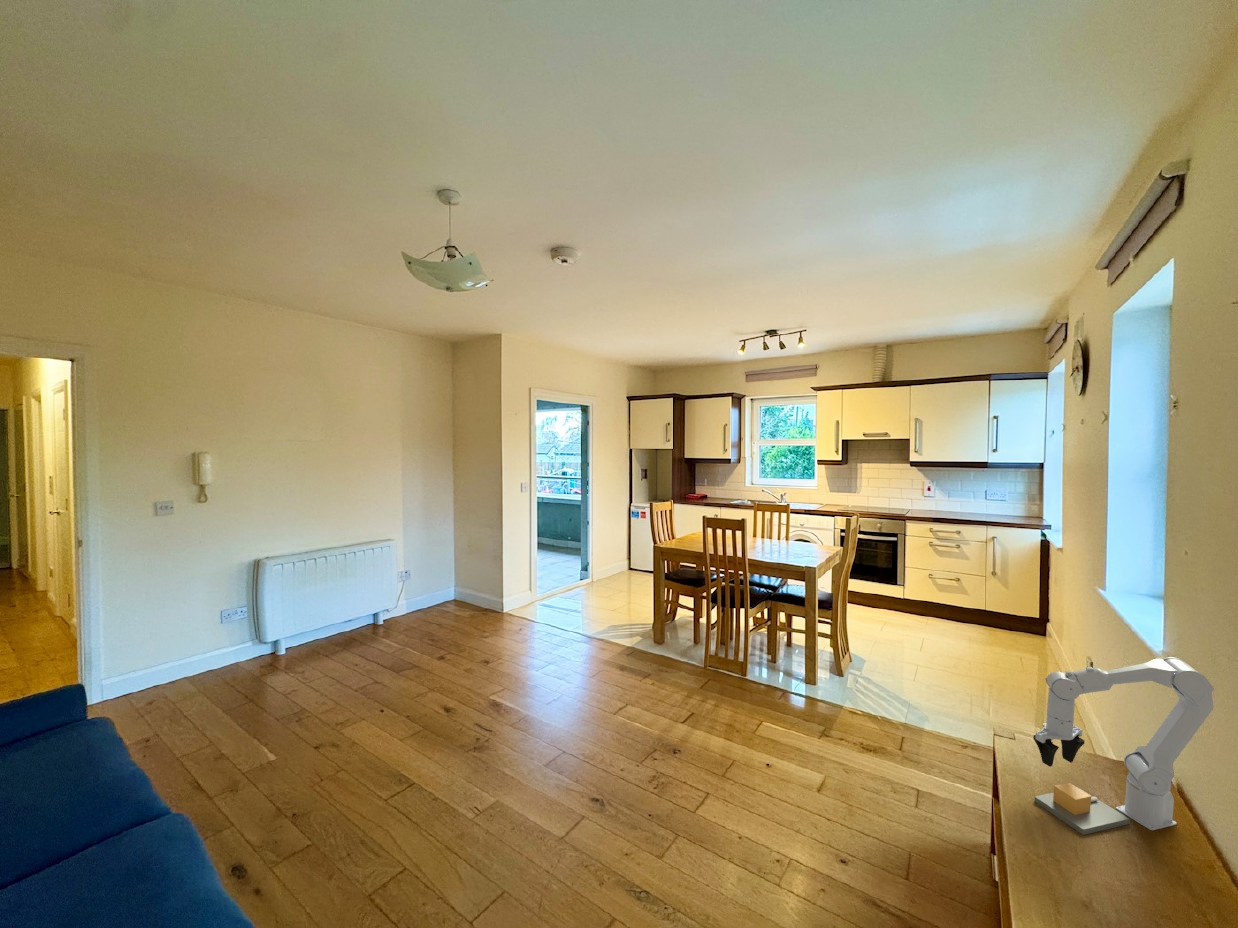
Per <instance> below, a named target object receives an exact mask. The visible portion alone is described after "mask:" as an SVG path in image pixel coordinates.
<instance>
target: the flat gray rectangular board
mask: <svg viewBox="0 0 1238 928" xmlns="http://www.w3.org/2000/svg"><path fill="white" fill-rule="evenodd" d="M1078 788H1079V789H1080V790H1082V791H1083V792H1085V793H1087V794H1088V795H1090V796H1091V807H1090V812H1086V813H1082V814H1078V815H1074V814H1073V813H1071V812H1070V811H1068V810H1067V809H1065V808H1064V807H1062V806H1061V805H1059V804H1058V803H1056V802H1054V801H1053V795H1054V792H1050V793H1045V794H1041V795H1036V796H1034V803H1036V804H1037V805H1039V806H1040V807H1042V808H1043V809H1045V810H1046V811H1048V812H1049V813H1051V815H1053V816H1055V817H1056V818H1058V819H1059V820H1060V821H1062V822H1063V823H1065V824H1066V825H1067V826H1069V827H1070V828H1072V829H1074V830H1075V831H1076V832H1078V833H1080V834H1081V835H1082V836H1084V835H1089V834H1093V833H1097V832H1101V831H1106V830H1109V829H1114V828H1119V827H1123V826H1127V825H1129V824H1130V817H1128V816H1127V815H1125V814H1123V813H1122V812H1120V811H1118V810H1117V809H1114V808H1112V807H1111V806H1110V805H1107V804H1106V803H1105V802H1103V801H1101V800H1100V799H1098V797H1097V796H1093V795H1091V794H1090V793H1088V792H1086V790H1085V791H1084V790H1083V789H1081V788H1080V787H1078Z"/></svg>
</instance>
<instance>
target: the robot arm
mask: <svg viewBox="0 0 1238 928" xmlns="http://www.w3.org/2000/svg"><path fill="white" fill-rule="evenodd" d="M1045 682H1046V684H1047V686H1048V687H1049V688H1048V696H1047V702H1046V703H1047V704H1046V706H1047V708H1046V722H1045V723H1042V727H1043V728H1042V729H1040V730H1039V731H1037V732H1035V734H1034V735H1033V738H1032V739H1033V740H1034V742H1035V744H1036V745H1037V747H1038V748H1037V749H1038V750H1039V754H1040V757H1041V761H1042V763H1043V764H1045V765H1047V767H1050V768H1051V767H1052V766H1053V764H1054V759H1055V755H1056V753H1057V752H1058V751H1057V750H1058V749H1060V747H1059V746H1058V745H1056V744H1054V743H1053V741H1052V740H1060V743H1061V754H1062V755H1061V757H1062V759H1063V760H1065V761H1067V762H1068V763H1071V764H1072V763H1073V762H1074V760H1075V758H1076V755H1077V753H1078V752H1079V750H1080V748H1081V747H1082V746H1084V745H1085V743H1086V742H1085V739H1083V738H1081V737H1083V729H1081V728H1080V727H1078V726H1077V725H1074V721H1075V707H1076V706H1075V700H1076V699H1077V698H1078V697H1079V696H1080V695H1084V694H1091V693H1097V692H1106V691H1110V690H1111V688H1112V687H1113V686H1114V685H1121V684H1132V683H1133V684H1134V683H1142V682H1143V683H1144V682H1154V683H1157V684H1159V685H1161V686H1165V687H1167V688H1170V689H1174V692H1175V693H1176V695H1177V696H1178V699H1179V700H1178V701H1177V702H1176V703H1175V705H1174V706H1173V708H1172V709H1171V711H1170V712H1169V714H1168V715H1167V716H1166V718H1165V720H1163V722H1162V723H1161V725H1160V726H1159V727H1158V728H1157V730H1156V731H1155V733H1154V734H1153V736H1152V737H1151V738H1150V740H1149V741H1148V743H1147V744H1146V745H1140V746H1137V747H1136V748H1135V750H1134V751H1130V752H1128V753H1127V754H1125V756H1124V759H1123V763H1124V766H1125V767H1126V769H1127V770H1128V774H1127V775H1126V784H1125V785H1126V787H1125V797H1124V798H1125V799H1124V800H1125V801H1124V805H1123V804H1122V805H1120V806H1116V807H1115V810H1116V811H1118V812H1119V813H1121V814H1122V815H1124V816H1126V817H1127V818H1129V819H1132V820H1133V821H1135V822H1136V823H1138V824H1140V825H1141V826H1143V827H1145V828H1147V829H1148V830H1149V831H1155V830H1160V829H1164V828H1168V827H1173V826H1176V825H1177V822H1176V821H1175V820H1173V817H1174V816H1173V815H1174V804H1175V799H1174V796H1173V794H1172V792H1171V789H1172V780H1173V779H1174V777H1175V769H1174V763H1175V761H1176V760H1177V759H1178V758H1179V756H1180V755H1181V753H1182V752H1183V751H1184V749H1185V748H1186V747H1187V745H1188V744H1189V743H1190V741H1191V740H1192V739H1193V737H1194V736H1195V734H1196V733H1197V732H1198V730H1199V729H1200V727H1201V726H1202V725H1203V724H1204V722H1205V721H1206V720H1207V718H1208V717H1209V716H1210V715H1211V713H1212V711H1214V700H1213V691H1214V689H1215V688H1214V686H1213V685H1212V684H1211V682H1210V681H1209V679H1208V677H1206V676H1205V675H1204V674H1203V673H1201V672H1199V671H1197V670H1196V669H1195V668H1194V667H1192V666H1191V665H1189V664H1188V663H1187V662H1186V661H1185V660H1184V659H1182V658H1178V657H1175V656H1174V657H1173V656H1169V657H1164V658H1154V659H1152V660H1149V661H1147V662H1143V663H1139V664H1134V665H1129V666H1125V667H1123V666H1122V667H1120V668H1115V669H1110V670H1104V669H1101V668H1099V667H1094V668H1093V667H1092V666H1086V667H1085V669H1082V670H1081V669H1080V670H1073V671H1070V670H1066V671H1065V672H1061V671H1052V672H1050V674H1048V675H1047V677H1045Z"/></svg>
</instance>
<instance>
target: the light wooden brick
mask: <svg viewBox="0 0 1238 928" xmlns="http://www.w3.org/2000/svg"><path fill="white" fill-rule="evenodd" d="M1079 788H1080V787H1077V786H1076V785H1073V784H1072V783H1070V782H1065V783H1061V784H1057V785H1056V784H1055V785H1053V793H1054V795H1053V801H1054V802H1056V803H1058V804H1059V805H1061V806H1062V807H1064V808H1065V809H1067V810H1068V811H1070V812H1071V813H1073V814H1074V815H1078V814H1082V813H1086V812H1090V807H1091V796H1092V795H1091V794H1090V795H1091V796H1090V795H1088V794H1089V793H1088V792H1087V793H1088V794H1087V793H1085V792H1086V791H1085V792H1083V791H1084V790H1083V789H1082V790H1083V791H1082V790H1080V789H1081V788H1080V789H1079Z"/></svg>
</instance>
